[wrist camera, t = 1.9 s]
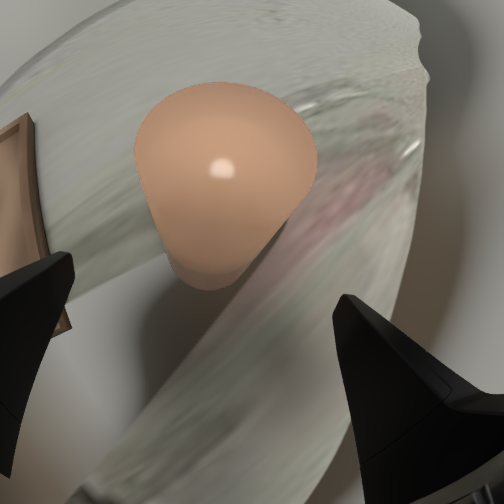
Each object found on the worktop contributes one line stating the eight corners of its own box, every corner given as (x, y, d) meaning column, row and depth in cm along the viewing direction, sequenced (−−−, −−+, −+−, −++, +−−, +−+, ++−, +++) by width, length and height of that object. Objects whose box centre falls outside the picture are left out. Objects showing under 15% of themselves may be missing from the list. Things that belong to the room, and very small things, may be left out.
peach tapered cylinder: (189, 304, 19) (175, 263, 7) (155, 230, 20) (116, 110, 8) (263, 268, 21) (349, 187, 9) (227, 199, 21) (263, 72, 10)
